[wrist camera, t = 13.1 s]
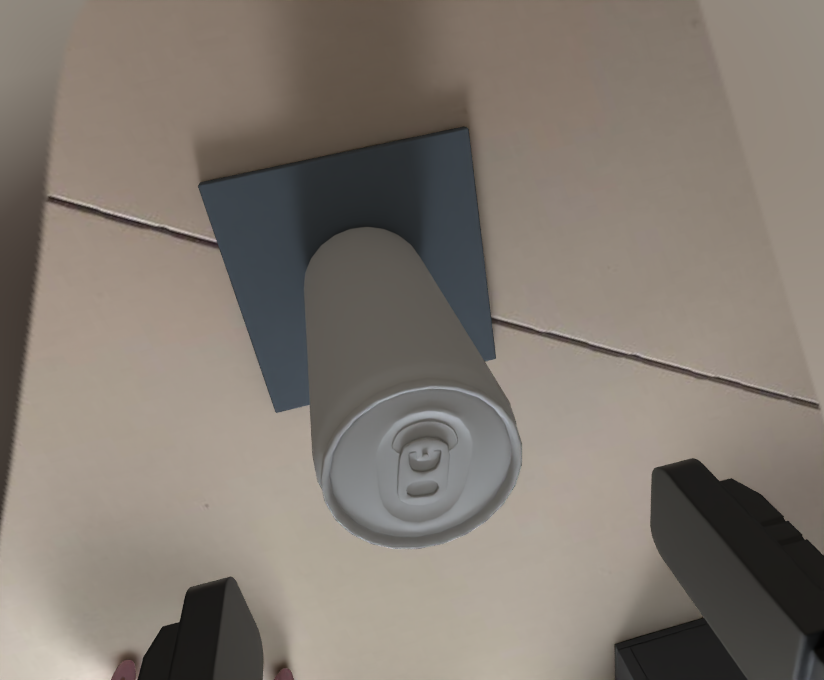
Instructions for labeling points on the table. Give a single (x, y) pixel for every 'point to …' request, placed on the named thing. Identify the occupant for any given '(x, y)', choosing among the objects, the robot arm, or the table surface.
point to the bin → (676, 656)
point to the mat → (337, 212)
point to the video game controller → (127, 675)
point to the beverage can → (400, 399)
